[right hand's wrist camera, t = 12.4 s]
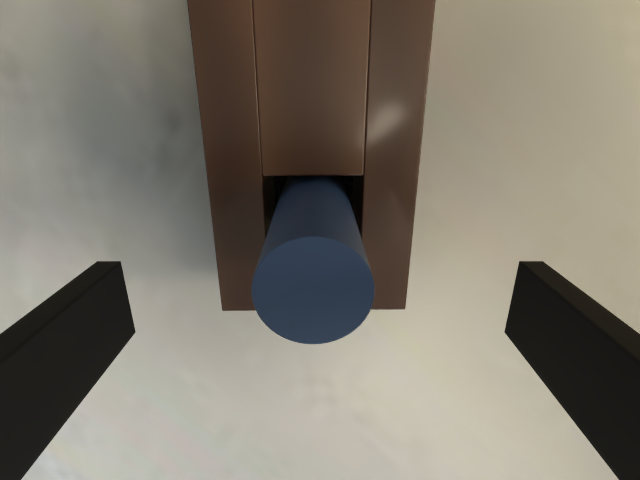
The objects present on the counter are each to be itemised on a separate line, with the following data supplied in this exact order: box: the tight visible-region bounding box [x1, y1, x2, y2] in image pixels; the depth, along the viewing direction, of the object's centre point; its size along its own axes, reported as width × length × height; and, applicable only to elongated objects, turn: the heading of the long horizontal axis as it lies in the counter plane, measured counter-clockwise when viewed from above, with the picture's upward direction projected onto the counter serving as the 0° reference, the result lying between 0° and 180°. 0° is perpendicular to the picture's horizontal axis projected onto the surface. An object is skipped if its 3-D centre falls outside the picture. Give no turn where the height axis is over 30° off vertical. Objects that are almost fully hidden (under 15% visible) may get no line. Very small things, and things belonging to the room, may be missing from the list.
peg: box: [251, 176, 375, 344], centre depth 18 cm, size 4×4×12 cm
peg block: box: [187, 0, 435, 311], centre depth 16 cm, size 10×27×8 cm, turn 0°
